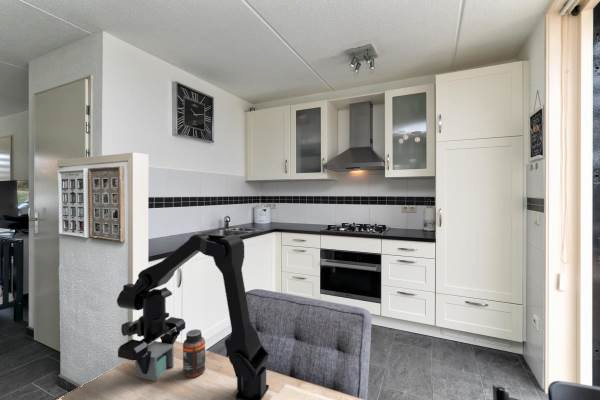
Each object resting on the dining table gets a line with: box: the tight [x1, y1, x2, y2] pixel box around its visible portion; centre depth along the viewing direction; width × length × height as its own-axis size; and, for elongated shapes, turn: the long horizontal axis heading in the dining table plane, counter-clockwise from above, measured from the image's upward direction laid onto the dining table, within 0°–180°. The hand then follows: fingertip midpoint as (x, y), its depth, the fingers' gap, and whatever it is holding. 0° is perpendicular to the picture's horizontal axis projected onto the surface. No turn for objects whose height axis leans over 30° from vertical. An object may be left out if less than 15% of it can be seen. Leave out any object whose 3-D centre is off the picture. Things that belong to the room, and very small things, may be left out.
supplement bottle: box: [182, 328, 206, 378], centre depth 82 cm, size 6×6×11 cm
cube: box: [157, 355, 167, 377], centre depth 82 cm, size 4×4×4 cm
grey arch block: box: [134, 340, 175, 382], centre depth 82 cm, size 7×7×6 cm
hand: (155, 366), depth 82 cm, fingers closed on grey arch block, 7 cm apart
